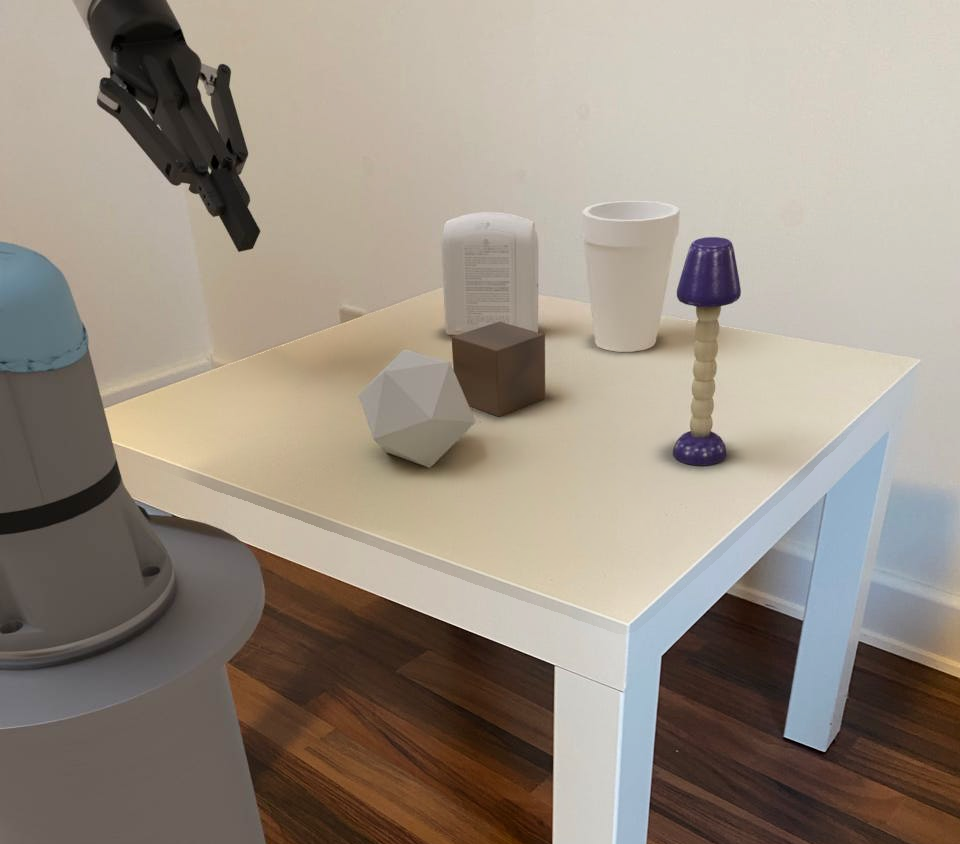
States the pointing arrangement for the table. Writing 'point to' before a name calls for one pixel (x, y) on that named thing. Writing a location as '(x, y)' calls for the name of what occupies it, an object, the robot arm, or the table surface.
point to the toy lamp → (706, 340)
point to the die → (416, 408)
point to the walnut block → (500, 367)
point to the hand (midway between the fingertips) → (249, 241)
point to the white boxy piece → (490, 272)
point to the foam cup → (628, 269)
